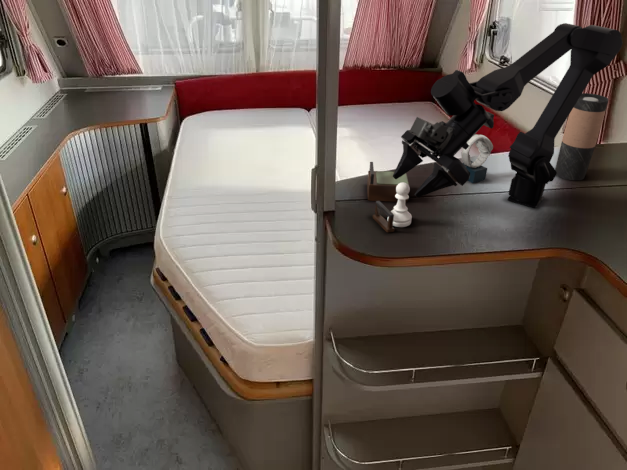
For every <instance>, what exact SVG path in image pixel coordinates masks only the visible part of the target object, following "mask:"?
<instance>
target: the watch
mask: <svg viewBox="0 0 627 470" xmlns="http://www.w3.org/2000/svg"><path fill="white" fill-rule="evenodd" d="M467 144H468V145H469V147H468V148H467V149H464V148H461V153H460V156H461V162H462V163H463V165H464V166H465V167H466V168H467V169H468V171H469V172H470V178H469V180H468V181H467V182H469V183H471V184H476V183H480V182H483V181H485V180H486V178H487V173H488V167H486V166H484V165H483V164H484V163H485V162H486V161H487V160H488V158H489V157H490V155H491V152H492V151H493V149H494V145H493V143H492V141H491V140H490V139H489V138H488V137H487V136H486V135H483V134H477V133H475V134H474V135H473V137H472V138H471V139H470V140H469V141H468V142H467ZM474 144H475V147H476V148H477V149H478V152H479V155H478V157H477V158H476V159H475V160H474V161H472V160H471V154H470V151H471V150H470V149H471V148H472V146H473V145H474Z"/></svg>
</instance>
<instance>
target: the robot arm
mask: <svg viewBox="0 0 627 470" xmlns="http://www.w3.org/2000/svg"><path fill="white" fill-rule="evenodd" d="M623 43H624V42H623V35H622V33H621V31H619V30H618V29H616V28H615V29H614V28H611V27H604V26H599V25H596V24H589V25H587V26H585V27H582V26H580V25H576V24H571V23H567V22H564V23H560V24H558V25H557V26H556V27H555V28H554V30H553V31H552V32H551V33H550V34H548V35H547V36H546V37H544V38H543V39H542V40H541V41H539V42H538V43H537V44H535V45H534V46H533V47H531V49H529V50H527V52H525V53H524V54H523V55H521V56H520V57H519V58H518V59H516V60H515V61H514V62H513V63H510V64H509V65H507V66H504V67H501V68H498V69H494V70H493V71H491V72H488V73H487V74H485V75H484V76H482V77H480V78H479V79H478V80H476V81H472V82H470V81H469V80H468V79H467V75H466V74H465V73H464V72H463V71H461V70H459V69H455V70H454V71H453V73H449V74H446V75H444V76H442V77H441V78H439V79H437V80H436V81H435V82H434V84H433V85H432V86H431V89H430V95H431V96H432V97H433V99H434V100H435V101H436V102H437V104H438V105H439V107H440V108H441V109H442V110H443V111H444V112H445V114H446V115H447V116H450V118H449V119H448V120H447V122H446V121H443V120H441V121H438V122H435V123H432V122H430V121H427V120H425V119H423V118H421V117H418V116H416V118H415V120H414V122H413V123H412V124H411V125H412V126H411V127H410V129H407V130H405V132H403V134H402V135H401V136H400V138H401V139H402V140H401V144H402V150H403V151H402V155H401V157H400V159H399V162H398V163H397V166H396V167H395V170H394V171H393V172H394V174H393V177H394V178H395V179H398V178H399V177H401V176H403V175H404V174H405V173H406V174H407V173H408V172H410V171H411V170H413V169H414V168H415V167H418V165H420V164H421V163H422V162H424V160H423V158H427V157H428V158H429V159H431V160H432V161H434V164H433V168H432V172H431V173H430V175H429V176H428V177H427V178H426V179H425V180H424V181H423V183H421V185H420V186H419V187H418V188H417V189H416V191H415V193H414V196H415V197H416V198H421V197H424V196H426V195H429V194H432V193H434V192H437V191H441V190H443V189H446V188H450V187H453V186H454V187H457V186H458V184H459V185H460V186H462V187H463V186H464V185H465V184H467V182H469V181H468V180H469V178H470V172H469V171H468V169H467V168H466V167H465V166H464V165H463V161H462V160H461V159H459V158H457V157H456V156H455V155H457V153H459V152H460V150H462V148H464V149H467V148H468V147H469V145H468V144H467V142H468V141H469V140H470V139H471V138H472V137H473V135H475V134H477V132H478V131H479V130H480V129H481V128H482V127H483V126H485V127H487V128H489V129H490V130H491V129H493V128H494V127H495V126H494V125H495V121H494V120H495V119H494V118H495V114H493V113H491V112H490V111H487V110H486V109H485V108H484V106H485V107H486V108H489V109H491V110H492V111H495V112H504V111H507V109H509V108H510V107H511V106H512V105H513V104H514V103H515V102H516V101H517V100H518V99H519V98H520V97H521V95H522V93H523V90H524V88H525V87H526V85H527V84H528V83H530V82H531V81H532V80H534V79H535V78H536V77H538V75H540V74H541V73H542V72H544V71H545V70H546V69H547V68H549V67H550V66H552V65H553V64H554V63H556V62H557V61H558V60H559V59H560V58H562V57H563V56H564V55H566V54H567V53H568V52H570V61H569V62H570V63H569V66H568V68H567V70H566V72H565V74H564V76H563V77H562V79H561V80H560V82H559V84H558V86H557V87H556V89H555V90H554V92H553V93H552V96H551V97H550V99H549V101H548V102H547V104H546V105H545V107H544V109H543V111H542V113H541V114H540V116H539V118H538V119H537V121H536V123H535V124H534V126H533V127H532V128H531V129H530V130H528V131H526V132H523V131H519V132H518V133H517V135H516V136H515V139H514V141H513V143H512V144H511V145H510V146H509V152H508V155H507V157H508V160H509V163H510V168H511V170H512V171H514V172H515V174H514V176H513V177H512V178H511V182H510V186H509V189H508V190H509V191H508V197H507V201H509V202H512V203H515V204H519V205H522V206H526V207H529V208H532V209H536V208H537V207H538V206H539V205H540V204H541V203H542V202H543V201H544V199H545V197H544V192H545V188H546V185H548V184H549V183H551V182H553V181H554V180H555V178H556V177H557V175H556V174H557V172H556V170H555V169H556V168H555V167H554V166H553V165H552V163H551V161H552V158H553V156H554V154H555V139H556V137H557V135H558V134H559V132H560V130H561V129H562V127H563V126H564V124H565V123H566V122H567V120H568V117H569V114H570V112H571V111H572V109H573V107H574V106H575V104H576V103H577V101H578V99H579V98H580V96H581V94H582V93H584V91H585V90H586V88H587V87H588V85H589V83H590V82H591V80H592V78H593V77H594V76H595V75H596V74H598V73H600V72H601V71H602V70H604V69H605V68H607V67H608V66H610V64H611V62H612V61H613V60H614V59H615V57H616V56H617V55H618V54H619V53H620V51H621V49H622V48H623ZM475 101H476V102H477V103H476V102H475Z"/></svg>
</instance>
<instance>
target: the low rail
mask: <svg viewBox="0 0 627 470" xmlns="http://www.w3.org/2000/svg"><path fill="white" fill-rule="evenodd" d="M391 211H392V210H390V209H389V208H387V207H386V205H384V204H383V202H382V201H375V208H374V214H372V219H373V220H374V221H375V222H376V223H377V224H378V225H379V226H380V227H381V228H382V229H383V230H384V231H385V232H386V233H387V234H389V233H394V232H395V228H394V226H393V219H394V214H393V213H392V212H391ZM381 212H383V214H385V215H386V217H387V219H388V221H387V219H386V218H384V216H383V215H382V214H381Z"/></svg>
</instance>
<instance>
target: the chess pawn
mask: <svg viewBox="0 0 627 470" xmlns="http://www.w3.org/2000/svg"><path fill="white" fill-rule="evenodd" d="M410 191H411V187H410V184H409V185H408V184H407V183H404V182H402V183H399V184H398V185H397V187H396V192H397V194H396V195H395V197H396V198H397V199H398V201H397V202H396V204H395V205H394V206H393V208H392V210H390V211H391V212H392V213H393V214H394V219H393V227H395V228H406V227H409V226H411V224H412V218H413V216H412V215H413V214H411V213H410V212H409V211H408V210H409V208H408V206H407V205H406V202H405V200H406V199H408V200H409V198H410V196H409V195H408V193H409V194H410ZM386 221H387V222H388V218H387V219H386Z"/></svg>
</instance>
